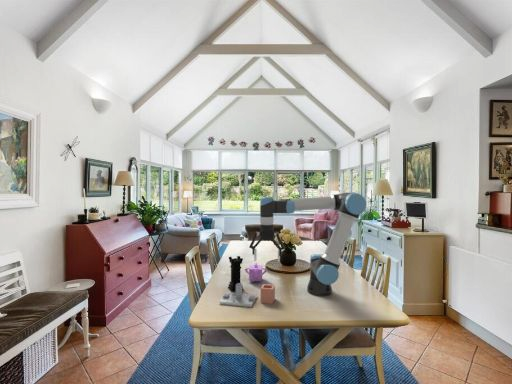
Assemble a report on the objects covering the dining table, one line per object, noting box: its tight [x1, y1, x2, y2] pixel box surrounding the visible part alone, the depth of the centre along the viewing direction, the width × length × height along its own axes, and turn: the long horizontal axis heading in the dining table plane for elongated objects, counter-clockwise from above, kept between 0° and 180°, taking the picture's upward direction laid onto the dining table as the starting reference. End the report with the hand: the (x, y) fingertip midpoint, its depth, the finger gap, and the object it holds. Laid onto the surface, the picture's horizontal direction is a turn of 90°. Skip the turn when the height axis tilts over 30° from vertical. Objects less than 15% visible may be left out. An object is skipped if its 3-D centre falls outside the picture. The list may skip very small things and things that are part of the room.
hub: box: [260, 283, 276, 305], centre depth 161 cm, size 7×7×8 cm
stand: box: [219, 282, 258, 308], centre depth 160 cm, size 18×14×10 cm
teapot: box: [244, 262, 268, 283], centre depth 195 cm, size 15×13×11 cm
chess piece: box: [227, 255, 245, 293], centre depth 178 cm, size 8×8×20 cm
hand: (266, 261), depth 161 cm, fingers open, 13 cm apart
